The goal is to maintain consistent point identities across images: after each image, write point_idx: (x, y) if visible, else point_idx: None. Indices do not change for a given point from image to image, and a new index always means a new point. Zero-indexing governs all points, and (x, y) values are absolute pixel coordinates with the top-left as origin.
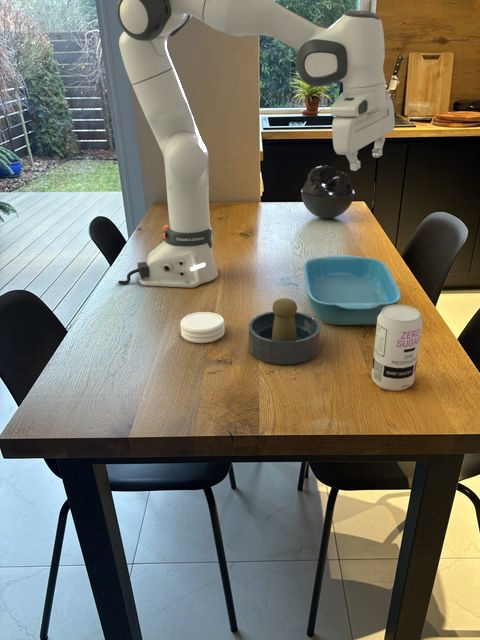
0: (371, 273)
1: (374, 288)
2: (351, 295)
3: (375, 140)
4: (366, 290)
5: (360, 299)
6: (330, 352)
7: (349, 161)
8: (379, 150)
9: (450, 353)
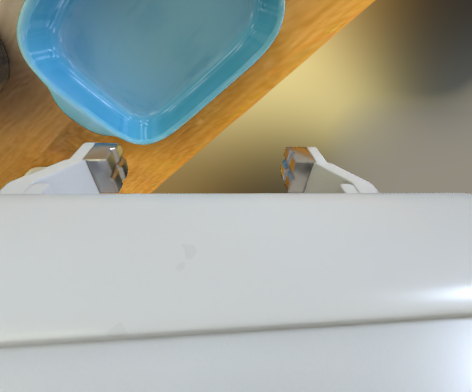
0: (262, 15)
1: (227, 43)
2: (180, 21)
3: (348, 183)
4: (214, 34)
5: (176, 47)
6: (17, 104)
7: (59, 164)
8: (292, 190)
9: (146, 186)
